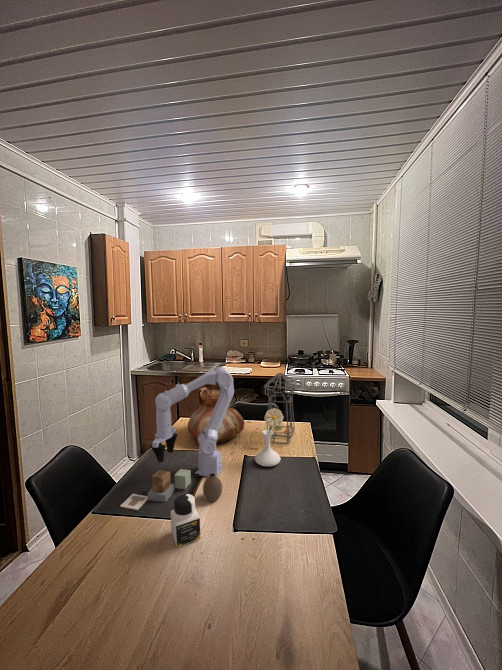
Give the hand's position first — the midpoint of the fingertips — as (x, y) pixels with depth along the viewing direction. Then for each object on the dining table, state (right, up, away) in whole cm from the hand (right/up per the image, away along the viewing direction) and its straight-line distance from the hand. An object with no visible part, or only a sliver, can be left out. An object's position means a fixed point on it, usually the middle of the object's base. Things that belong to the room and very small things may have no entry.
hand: (165, 456), depth 121 cm
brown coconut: (+20, -10, -12) cm, 26 cm away
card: (-7, -11, -13) cm, 19 cm away
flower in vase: (+42, -8, +12) cm, 45 cm away
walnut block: (+1, -8, -10) cm, 12 cm away
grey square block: (+1, -11, -10) cm, 14 cm away
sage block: (+8, -10, -4) cm, 13 cm away
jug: (+16, -6, +40) cm, 44 cm away
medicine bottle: (+15, -12, -30) cm, 35 cm away
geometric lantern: (+50, -6, +36) cm, 62 cm away
